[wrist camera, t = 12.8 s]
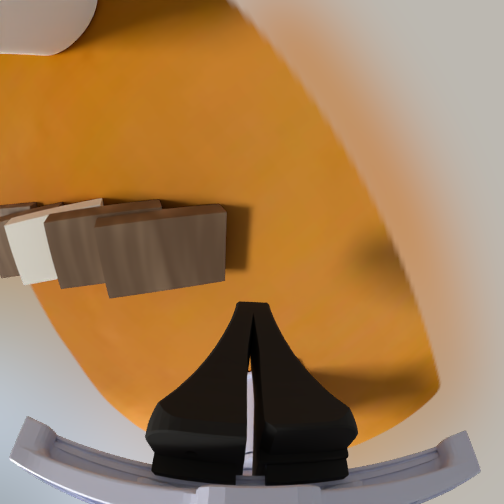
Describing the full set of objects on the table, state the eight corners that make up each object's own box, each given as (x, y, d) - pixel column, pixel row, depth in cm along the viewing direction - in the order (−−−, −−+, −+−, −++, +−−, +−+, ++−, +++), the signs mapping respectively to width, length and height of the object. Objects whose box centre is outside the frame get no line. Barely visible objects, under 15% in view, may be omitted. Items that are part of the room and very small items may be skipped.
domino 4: (161, 207, 17) (43, 223, 14) (166, 274, 19) (60, 288, 16) (159, 199, 18) (49, 214, 15) (163, 263, 21) (64, 276, 18)
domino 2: (56, 208, 17) (-17, 226, 15) (71, 267, 19) (1, 278, 17) (62, 202, 18) (-9, 219, 16) (76, 258, 21) (8, 269, 19)
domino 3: (100, 204, 17) (4, 226, 14) (113, 268, 19) (23, 285, 16) (102, 197, 18) (11, 218, 15) (113, 258, 20) (28, 274, 18)
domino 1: (29, 206, 17) (-18, 210, 17) (43, 260, 20) (-6, 256, 19) (40, 199, 19) (-9, 204, 18) (52, 251, 21) (3, 248, 21)
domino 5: (226, 212, 17) (94, 227, 14) (224, 280, 20) (109, 298, 17) (219, 203, 18) (96, 217, 16) (218, 268, 21) (109, 284, 18)
